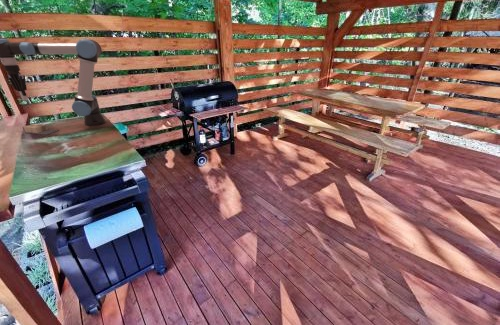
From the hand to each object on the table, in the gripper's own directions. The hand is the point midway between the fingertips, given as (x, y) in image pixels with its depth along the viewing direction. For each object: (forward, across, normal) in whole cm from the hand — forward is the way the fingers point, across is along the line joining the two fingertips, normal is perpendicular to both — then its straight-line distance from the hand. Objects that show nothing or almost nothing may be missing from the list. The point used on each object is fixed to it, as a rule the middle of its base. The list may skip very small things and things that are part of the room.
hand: (25, 100), depth 168 cm
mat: (+23, +4, 0) cm, 24 cm away
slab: (+21, +5, 0) cm, 21 cm away
